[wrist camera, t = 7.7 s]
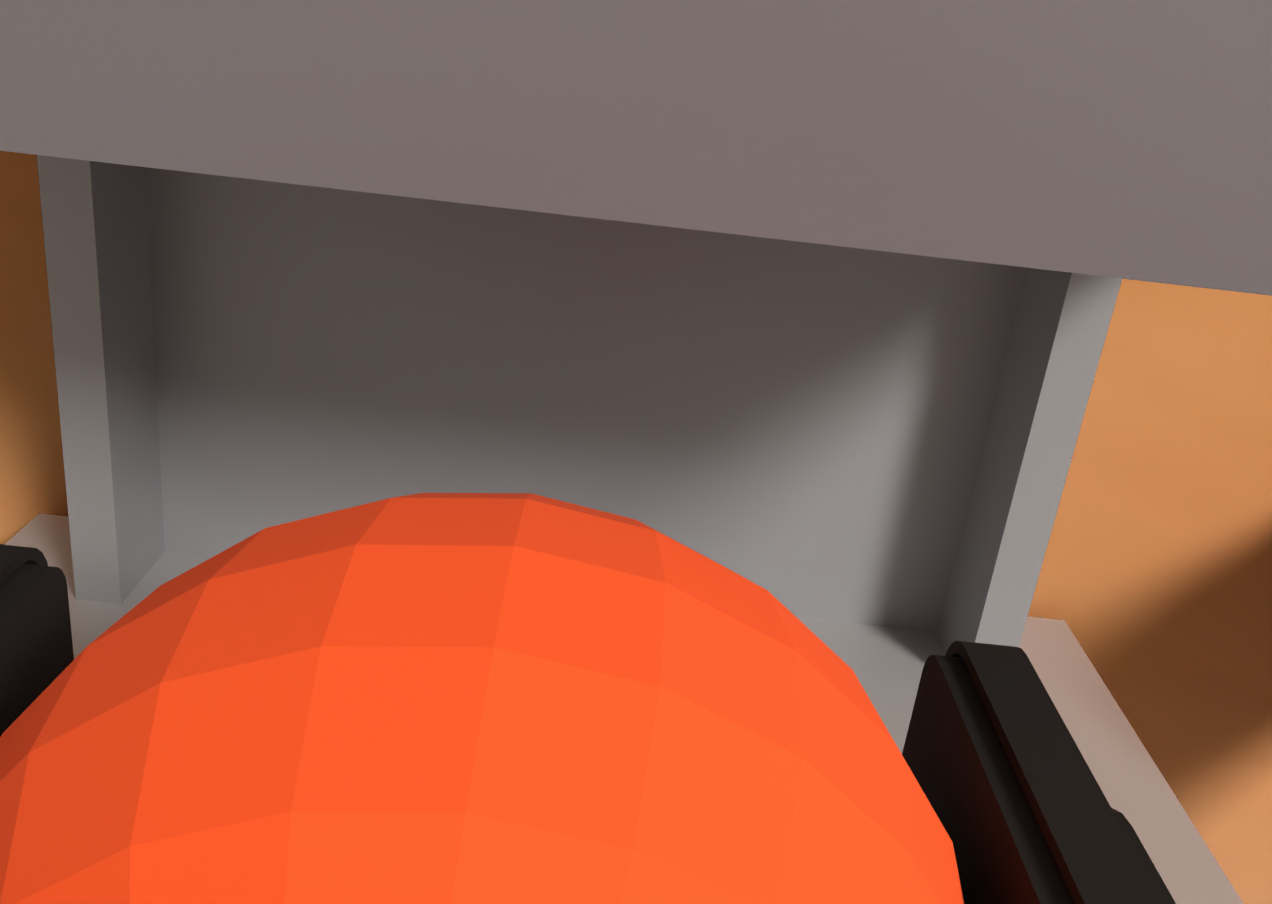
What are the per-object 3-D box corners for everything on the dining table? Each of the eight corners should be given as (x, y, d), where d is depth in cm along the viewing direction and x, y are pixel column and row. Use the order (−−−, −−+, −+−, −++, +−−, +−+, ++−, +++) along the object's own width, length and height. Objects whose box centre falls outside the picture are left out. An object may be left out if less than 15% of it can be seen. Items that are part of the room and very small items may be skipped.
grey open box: (1329, -278, 18) (2384, -657, 7) (1055, 653, 24) (1378, 1204, 13) (-57, -458, 17) (-1277, -1188, 6) (42, 548, 24) (-474, 1039, 13)
